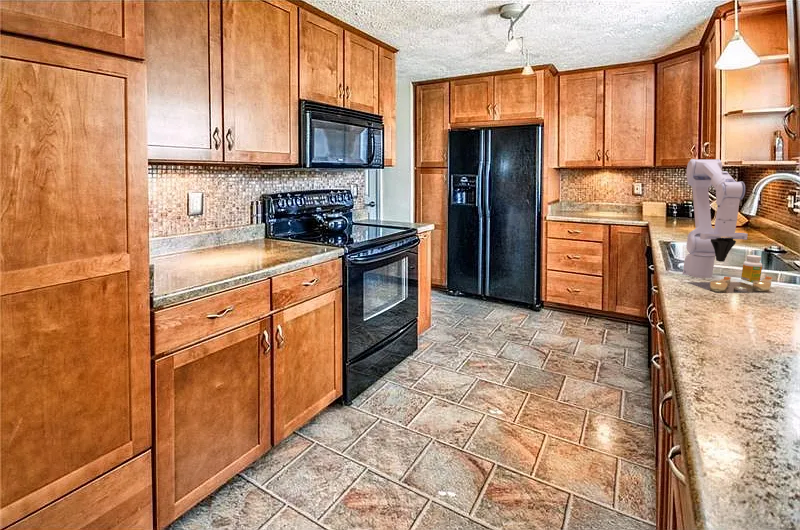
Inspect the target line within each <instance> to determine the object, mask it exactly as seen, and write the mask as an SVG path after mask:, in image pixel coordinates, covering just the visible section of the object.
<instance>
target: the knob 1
mask: <svg viewBox="0 0 800 530" xmlns="http://www.w3.org/2000/svg"><path fill="white" fill-rule="evenodd" d="M731 279H732V277H731V276H724V277H723V278H722V279H720V280H711V281H710V282H711V283H710V290H712V291H717V292H726V291H727V287H729V286H730V282H731Z"/></svg>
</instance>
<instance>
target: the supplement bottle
mask: <svg viewBox="0 0 800 530" xmlns="http://www.w3.org/2000/svg"><path fill="white" fill-rule="evenodd" d="M761 259H762V256H761V255H754V254H748V255H746V260H745V261H743V264H742V270H741V277H740V280H743V281H745V282H749V283H752V284H753V281H761V275H762V269H763V263H762V262H761Z"/></svg>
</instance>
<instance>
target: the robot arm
mask: <svg viewBox="0 0 800 530" xmlns="http://www.w3.org/2000/svg"><path fill="white" fill-rule="evenodd" d="M685 170H686V181H687V185H689V186H690V187H691V189H692V199H693V201H692V202H693V210H694V211H693V213H694V223H695V224H694V225H695V226H694V227H695V228H694V229H692V230H691V231H690V232H689V233H688V234H687V237H686V238H687V241H686V251H687V253H688V254H686V256H685V257H684V260H683V268H682V275H689V276H691V277H696V278H701V279H702V278H705V279H708V278H713V273H714V267H715V261H717V262H720V263H723V262H725V260H726V259H727V256H728V255H729V253H730V251H731V250H732V249H733V247H734V246H735V245H736V243H737V241H736V240H743V241H744V240H748V234H749V233H745V232H736V229H737V222H738V215H739V208H740V207H739V206H740V204H741V203H740V202H741V201H742V200H743V199H744V197H745V194H746V185H745V182H744V181H740V180H739V181H736V180H735V178H733V177H732V175H731V174H729V171H726V170H725V171H724V170H723V162H722V161H721V159H720V158H717V159H695V158H691V159H690V160H689V161H688V162H687V166H686V169H685ZM710 187H713V188H714V189H715V197H716V198H715V203H716V206H717V207H716V214H715V222H714V228H713V225H712V216H711V215H712V213H711V205H710V194H709V188H710Z"/></svg>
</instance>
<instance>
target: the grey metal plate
mask: <svg viewBox="0 0 800 530" xmlns="http://www.w3.org/2000/svg"><path fill="white" fill-rule="evenodd" d="M687 283H688V284H690V285H693V286H695V287H698V288H701V289H703V290H706V291H709V292H712V293H715V294H759V293H761V294H766V293H769V294H772V293H773V294H775V292H774V291H771V290H770V291H769V292H762V291H756V290H753V289H752V287H753V284H752V285H751V284H749V283H746V282H741V281H730V286H729V287H727V291H726V292H717V291H712V290H710V283H711V281H710V282H709V281H703V282H702V281H701V282H699V281H697V282H696V281H695V282H693V281H689V282H687Z"/></svg>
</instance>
